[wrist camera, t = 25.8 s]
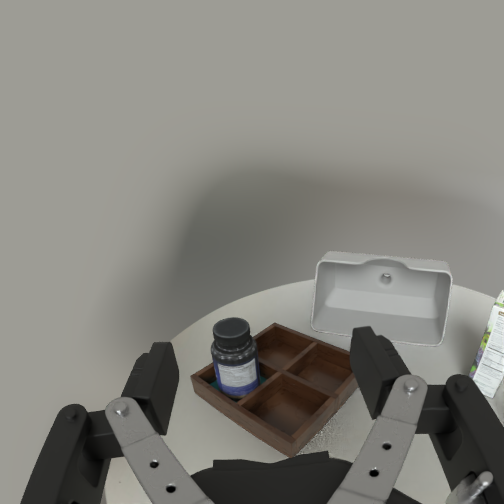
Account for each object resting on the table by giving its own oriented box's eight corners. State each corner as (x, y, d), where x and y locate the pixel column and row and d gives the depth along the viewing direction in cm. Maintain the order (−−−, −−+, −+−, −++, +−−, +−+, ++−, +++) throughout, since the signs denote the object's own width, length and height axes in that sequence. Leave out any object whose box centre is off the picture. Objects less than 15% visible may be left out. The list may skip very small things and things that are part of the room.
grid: (291, 459, 30) (291, 443, 29) (194, 392, 43) (190, 375, 42) (366, 375, 42) (369, 358, 41) (275, 338, 55) (274, 322, 54)
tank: (437, 303, 58) (446, 249, 54) (441, 347, 45) (456, 282, 41) (330, 292, 69) (331, 239, 65) (309, 330, 56) (309, 268, 52)
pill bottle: (226, 372, 46) (216, 312, 42) (265, 376, 44) (260, 315, 41) (213, 399, 40) (199, 337, 37) (255, 405, 39) (248, 342, 35)
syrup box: (475, 367, 38) (500, 287, 33) (503, 379, 33) (533, 298, 28) (463, 386, 35) (491, 302, 30) (493, 400, 30) (528, 316, 26)
